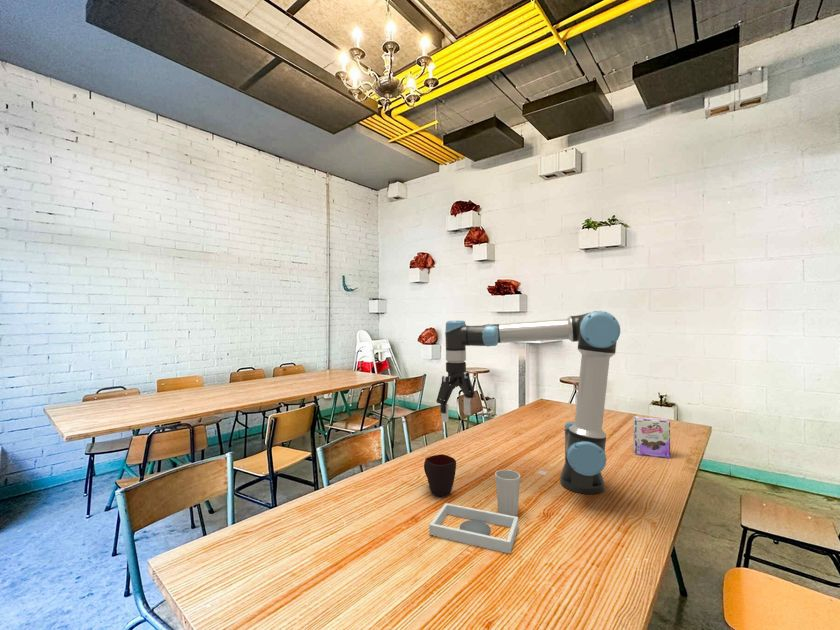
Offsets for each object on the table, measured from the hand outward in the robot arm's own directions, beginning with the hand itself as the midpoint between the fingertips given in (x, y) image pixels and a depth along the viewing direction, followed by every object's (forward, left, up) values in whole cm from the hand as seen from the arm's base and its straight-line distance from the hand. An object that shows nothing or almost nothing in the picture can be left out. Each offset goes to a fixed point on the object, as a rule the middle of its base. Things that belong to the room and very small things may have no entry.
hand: (456, 418), depth 145 cm
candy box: (-72, -63, -25) cm, 99 cm away
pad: (-14, +28, -25) cm, 40 cm away
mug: (+5, +8, -25) cm, 27 cm away
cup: (-21, +13, -25) cm, 35 cm away
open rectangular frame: (-14, +28, -25) cm, 40 cm away
